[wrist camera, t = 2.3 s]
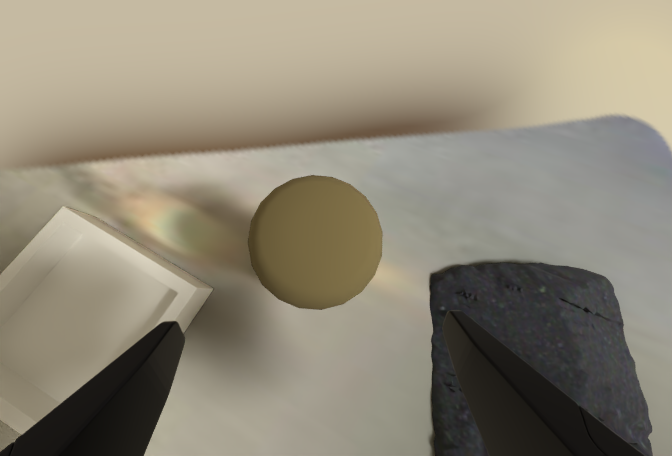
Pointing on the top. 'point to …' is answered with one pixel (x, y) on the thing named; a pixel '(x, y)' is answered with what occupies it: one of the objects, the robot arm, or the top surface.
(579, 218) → the top surface
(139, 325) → the tray
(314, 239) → the olive brown pawn
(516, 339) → the dark slate chunk
